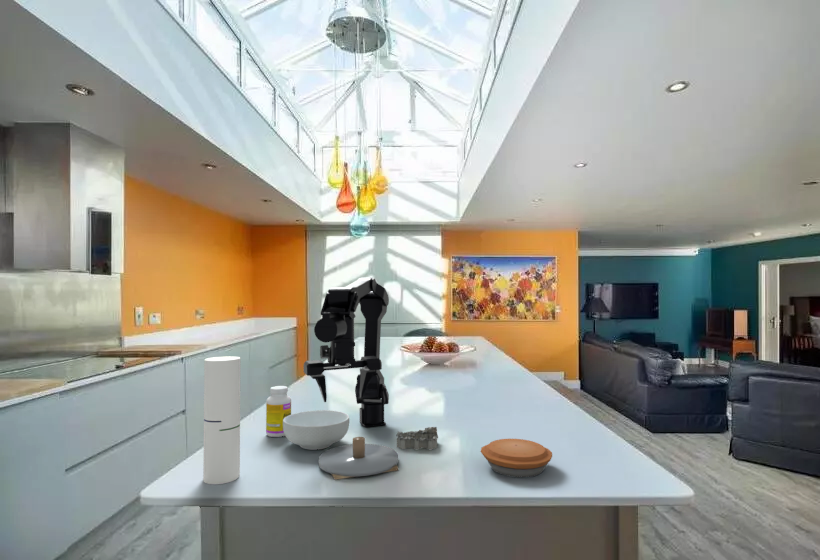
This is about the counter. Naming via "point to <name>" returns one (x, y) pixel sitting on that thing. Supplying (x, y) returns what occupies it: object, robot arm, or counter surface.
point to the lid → (358, 459)
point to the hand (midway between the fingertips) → (343, 399)
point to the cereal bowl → (316, 428)
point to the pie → (516, 457)
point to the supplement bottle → (277, 410)
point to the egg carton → (418, 439)
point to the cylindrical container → (221, 419)
